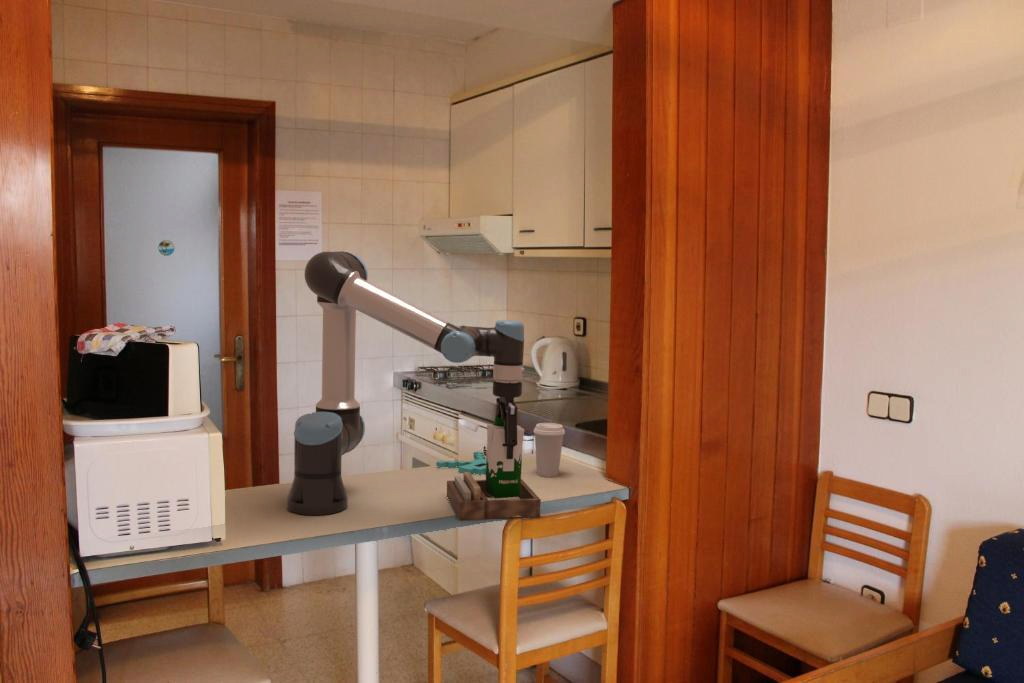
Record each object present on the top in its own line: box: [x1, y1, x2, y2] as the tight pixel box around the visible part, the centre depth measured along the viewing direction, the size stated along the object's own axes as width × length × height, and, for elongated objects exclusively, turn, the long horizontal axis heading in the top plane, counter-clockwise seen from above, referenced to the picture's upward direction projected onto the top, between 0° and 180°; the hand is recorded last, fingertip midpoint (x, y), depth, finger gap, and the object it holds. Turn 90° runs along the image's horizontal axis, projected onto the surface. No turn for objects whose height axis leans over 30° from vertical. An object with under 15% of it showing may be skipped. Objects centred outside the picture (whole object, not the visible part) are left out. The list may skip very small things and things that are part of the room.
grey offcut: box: [453, 475, 471, 501], centre depth 226 cm, size 2×16×6 cm, turn 13°
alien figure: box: [435, 450, 487, 476], centre depth 269 cm, size 20×2×20 cm
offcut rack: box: [446, 478, 542, 521], centre depth 228 cm, size 21×20×4 cm
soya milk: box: [485, 415, 525, 499], centre depth 227 cm, size 9×9×20 cm
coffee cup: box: [533, 422, 566, 478], centre depth 263 cm, size 10×10×15 cm
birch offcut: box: [462, 472, 481, 501], centre depth 226 cm, size 2×16×8 cm, turn 13°
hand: (504, 466), depth 228 cm, fingers closed on soya milk, 9 cm apart
